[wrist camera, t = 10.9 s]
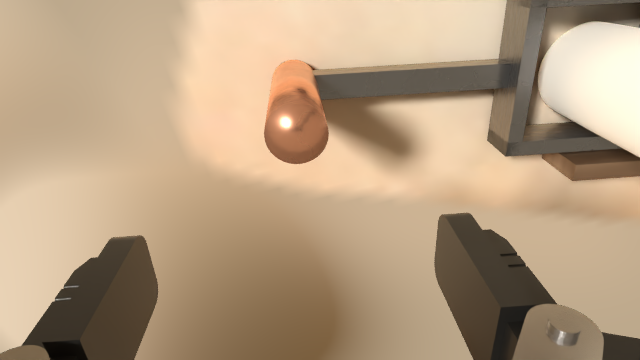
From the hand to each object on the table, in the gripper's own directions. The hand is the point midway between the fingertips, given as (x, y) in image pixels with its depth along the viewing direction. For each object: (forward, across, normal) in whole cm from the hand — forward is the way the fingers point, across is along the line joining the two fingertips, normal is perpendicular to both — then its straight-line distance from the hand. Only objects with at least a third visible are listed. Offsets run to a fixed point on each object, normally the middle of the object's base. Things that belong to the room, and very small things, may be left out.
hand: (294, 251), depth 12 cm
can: (+20, -20, 0) cm, 29 cm away
